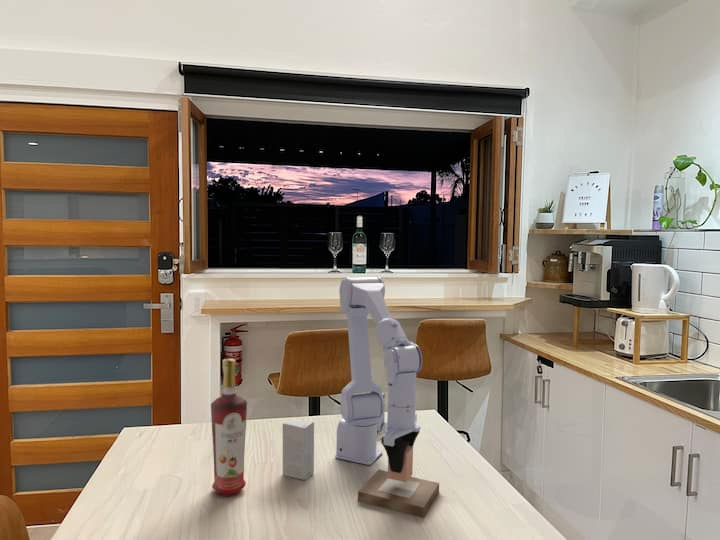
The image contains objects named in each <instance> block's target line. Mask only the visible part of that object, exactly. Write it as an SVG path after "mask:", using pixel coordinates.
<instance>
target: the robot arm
mask: <svg viewBox="0 0 720 540" xmlns="http://www.w3.org/2000/svg"><path fill="white" fill-rule="evenodd" d="M338 291H339V293H338V294H339V306H340V310H341V312H343V313H345V314H346V320H347V332H348V346H349V347H348V349H349V361H350V373H351V375H350V376H351V377H350V378H351V381H350V382H348V384H346V386H344V387H343V389H341V393H340V395H341V398H340V405H339V406H340V414H341V416H342V418H341V419H340V420H339V421H338V424H337V428H336V449H335V450H336V452H335V453H336V454H335V455H334V457H335V458H336V459H341V460H344V461H348V462H349V461H350V462H354V463H359V464H362V465H365V466H366V465H367V466H370V465H372V464H373V463H375V461H376V460H377V459H378V458H379V457H380V456H381V455H382V454H383V451H382V450H379V449H377V441H378V440H377V437H378V436H377V435H378V431H377V422H380V418H381V417H382V416H383V414H384V412H385V411H386V401H385V402H384V398H383V395H382V393H383V391H382V387H381V386H380V385H379V384H378V383H376V382H374V381H373V379H372V368H371V367H372V365H371V355H370V353H371V352H370V340H369V328H368V327H369V326H368V315H370V317H371V319H372V320H373V322H374V324H375V325H376V326H375V329H374V333H375V336H376V339H377V341H378V342H379V345H380V347H381V349H382V352H383V353H384V356H383V364H384V369H385V378H386V381H387V382H388V383H387V384H388V386H387V417H386V418H387V419H386V421H387V422H386V425H385V433H384V434H383V436H382V437H381V438H380V439H381V445H382V446H383V449H384V450H385V452H386V455H387V461H388V460H389V465H390V469H391V471H392V472H397V473H401V471H402V468H403V462H404V456H405V452H406V449H407V447H408V446H413V447H414V445H415V442H416V440H417V437H418V436H419V434H420V430H421V425H418V424H417V422H418V421H417V418H418V417H417V416H418V415H417V413H416V403H417V402H416V401H417V400H416V399H417V373H420V371H421V370H422V366H423V355H422V352H421V350H420V347H419V345H417V343H414V342H413V341H410V340H409V339H408V338H407V335H406V333H405V332H404V330H403V328H402V326H401V323H400V322H399V321H398V319H394V318H392V315H390V311H389V308H388V307H387V304H386V301H385V294H386V286H385V281H384V280H383V279H382V277H380V276H374V277H373V276H372V277H371V276H370V277H348V276H345V277H343V278H342V280H341V281H340V286H339V289H338ZM370 392H371V393H370ZM384 415H385V414H384Z"/></svg>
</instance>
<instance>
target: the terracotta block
mask: <svg viewBox="0 0 720 540" xmlns="http://www.w3.org/2000/svg"><path fill="white" fill-rule="evenodd" d="M413 463H414V445H413V446H408V447H407V449H406V452H405V456H404V462H403V468H402V471H401V473H397V472H392V471H391V469H390V465H389V460H388V459H387V471H388V478H389V479H393V480H398V481H402V482H407V481H408V479H409V478H410V477H412V475H413V468H414V467H413Z"/></svg>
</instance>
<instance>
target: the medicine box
mask: <svg viewBox="0 0 720 540" xmlns="http://www.w3.org/2000/svg"><path fill="white" fill-rule="evenodd" d="M369 393H371V392H369ZM382 395H383V398H384V402H385V403H386V399H385V398H386V396H385V395H386V394H385V392H382ZM385 414H386V413H385V412H384V414H383V416H382V417H381V418H380V422H377V432H380V431H381V430H382V427H383V426H384V423H385Z"/></svg>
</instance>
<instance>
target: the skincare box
mask: <svg viewBox="0 0 720 540" xmlns="http://www.w3.org/2000/svg"><path fill="white" fill-rule="evenodd" d="M314 466H315V422H314V421H309V420H305V419H299V418H293V417H292V418H290V419H288V420H287V421H285V422H283V423H282V476H286V477H290V478H294V479H298V480H302V481H306V480H308V478H310V476H312V475H313V474H314V472H315V467H314Z"/></svg>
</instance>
